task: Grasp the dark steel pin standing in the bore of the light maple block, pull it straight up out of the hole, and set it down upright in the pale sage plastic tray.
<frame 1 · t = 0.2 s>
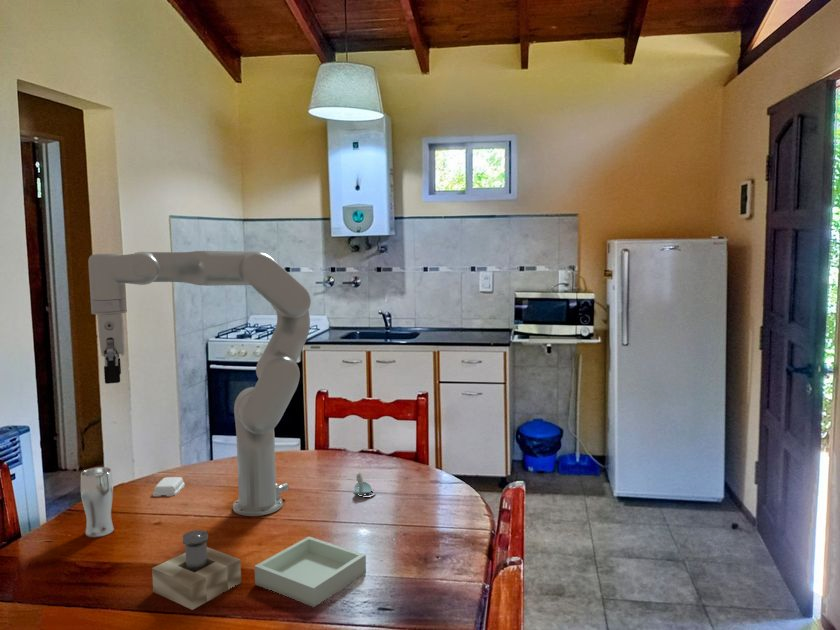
hand: (113, 378, 158), 37 cm above the table, tool pointing down, fingers open, 9 cm apart
tray: (311, 578, 138), on the table
beer glass: (99, 532, 161), on the table
pin block: (197, 587, 135), on the table
pacifier: (364, 495, 184), on the table
steel pin: (196, 561, 135), in the pin block
soap: (169, 491, 188), on the table
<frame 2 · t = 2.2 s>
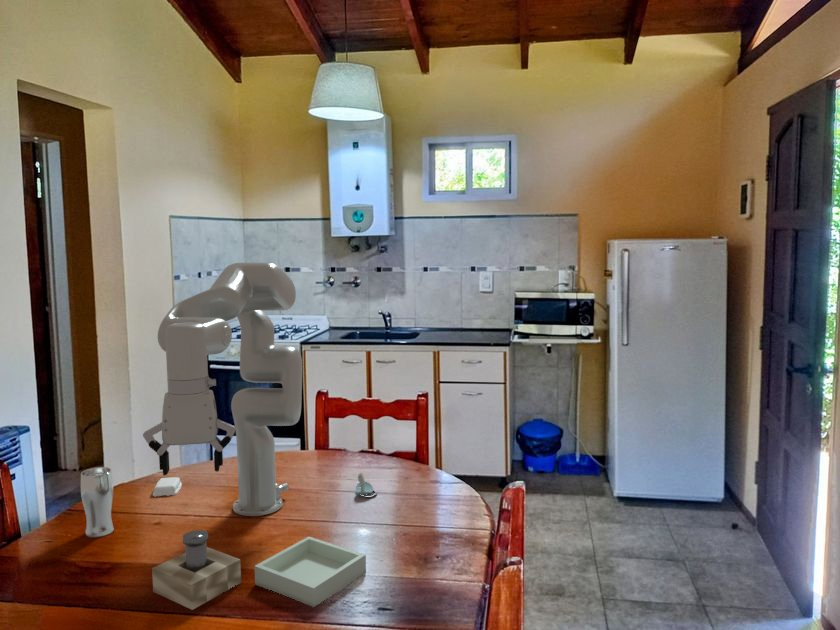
hand: (192, 471, 132), 24 cm above the table, tool pointing down, fingers open, 9 cm apart
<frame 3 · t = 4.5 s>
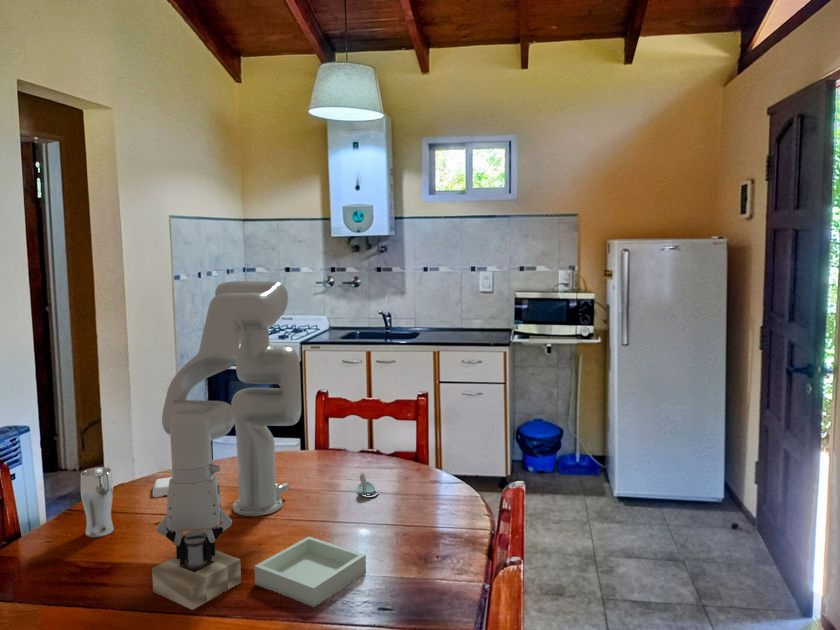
hand: (196, 559, 135), 6 cm above the table, tool pointing down, fingers closed on steel pin, 4 cm apart
steel pin: (196, 561, 135), in the pin block, touching gripper
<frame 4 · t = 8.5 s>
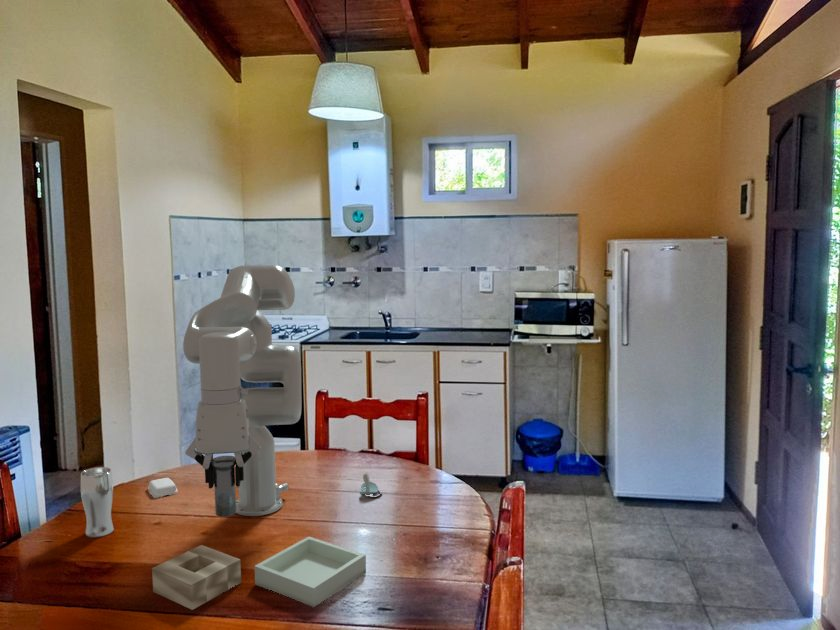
hand: (224, 484, 134), 21 cm above the table, tool pointing down, fingers closed on steel pin, 4 cm apart
steel pin: (224, 486, 134), point 21 cm above the table, touching gripper
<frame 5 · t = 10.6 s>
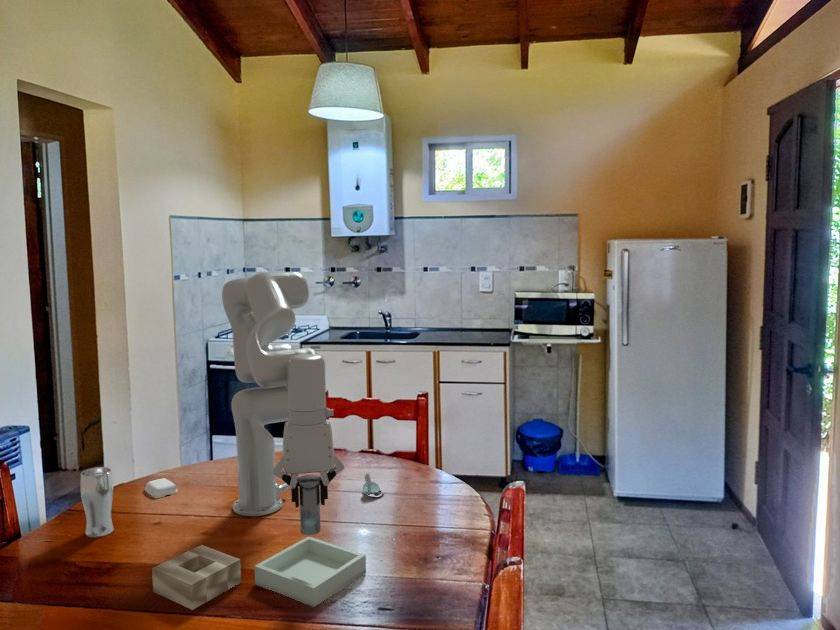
hand: (309, 502, 136), 16 cm above the table, tool pointing down, fingers closed on steel pin, 4 cm apart
steel pin: (309, 504, 136), point 16 cm above the table, touching gripper
when the fingers open (8 cm above the table, at t = 12.3 s): steel pin drops 1 cm, resting on tray.
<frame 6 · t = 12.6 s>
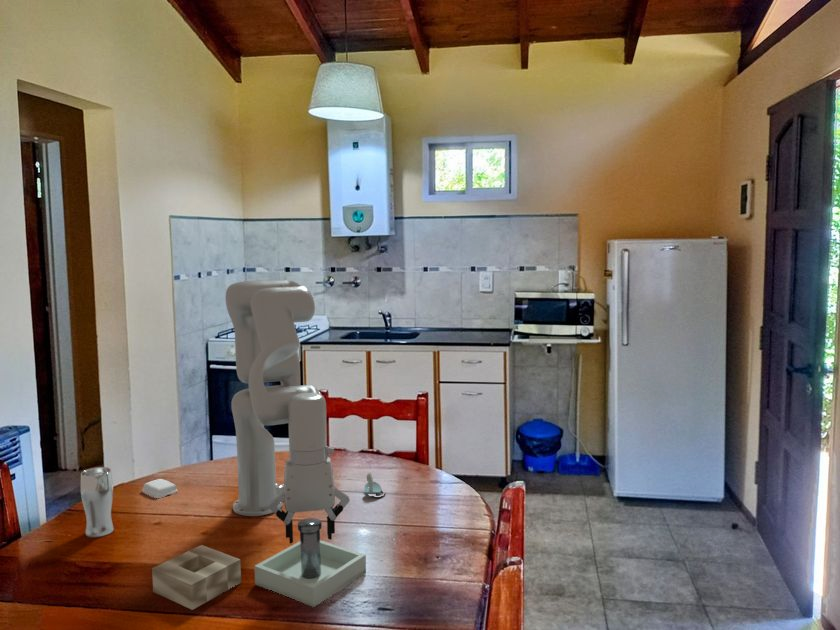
hand: (310, 538, 137), 9 cm above the table, tool pointing down, fingers open, 7 cm apart
steel pin: (310, 548, 138), in the tray, point 6 cm above the table
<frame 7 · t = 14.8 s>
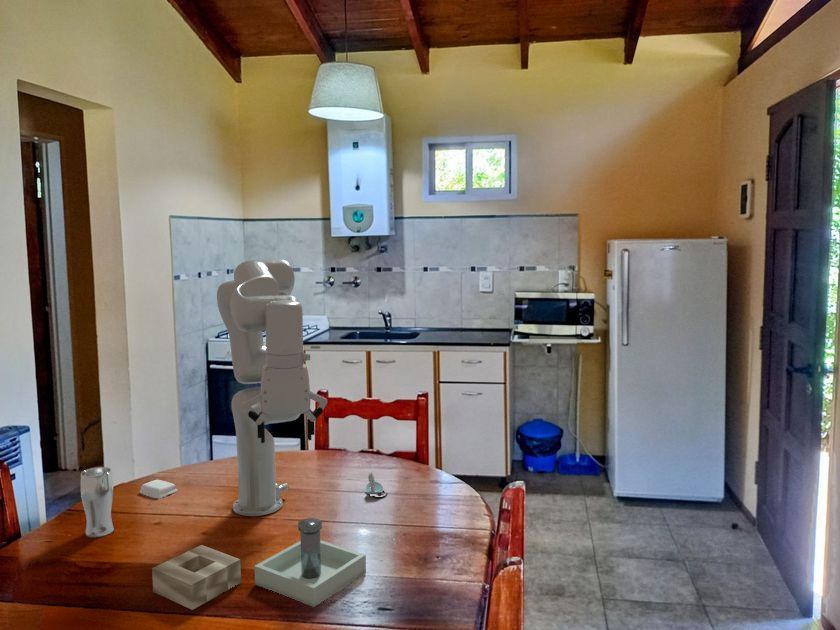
hand: (286, 439, 141), 28 cm above the table, tool pointing down, fingers open, 9 cm apart
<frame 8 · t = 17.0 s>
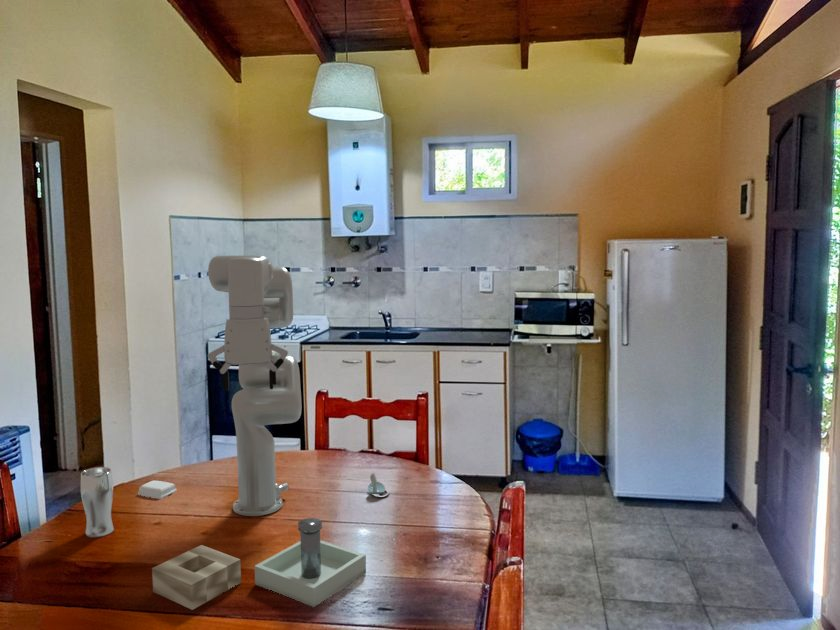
hand: (249, 389, 150), 36 cm above the table, tool pointing down, fingers open, 9 cm apart
at the end: steel pin inside the target area on the tray (0.0 cm from its centre), point 6.5 cm above the tray's base; the gripper is holding nothing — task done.
